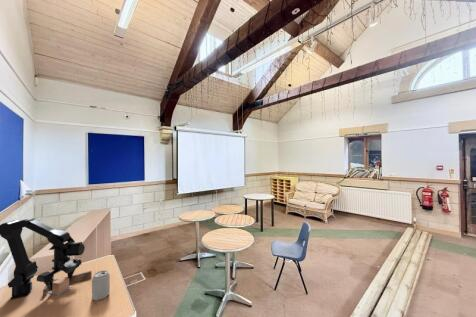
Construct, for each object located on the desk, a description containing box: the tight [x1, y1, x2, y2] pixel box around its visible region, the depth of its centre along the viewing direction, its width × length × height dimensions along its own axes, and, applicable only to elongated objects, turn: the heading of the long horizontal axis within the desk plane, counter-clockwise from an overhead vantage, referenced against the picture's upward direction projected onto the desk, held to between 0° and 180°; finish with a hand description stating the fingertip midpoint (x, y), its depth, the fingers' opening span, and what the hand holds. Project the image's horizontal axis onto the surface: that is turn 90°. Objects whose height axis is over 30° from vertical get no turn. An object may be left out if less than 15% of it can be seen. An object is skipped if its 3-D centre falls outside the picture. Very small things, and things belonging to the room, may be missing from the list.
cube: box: [52, 277, 70, 293], centre depth 108 cm, size 5×5×5 cm
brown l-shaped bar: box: [42, 270, 93, 297], centre depth 112 cm, size 20×9×4 cm, turn 122°
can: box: [91, 269, 111, 302], centre depth 102 cm, size 8×8×12 cm
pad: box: [48, 285, 73, 296], centre depth 108 cm, size 7×7×1 cm
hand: (60, 285), depth 108 cm, fingers open, 9 cm apart
